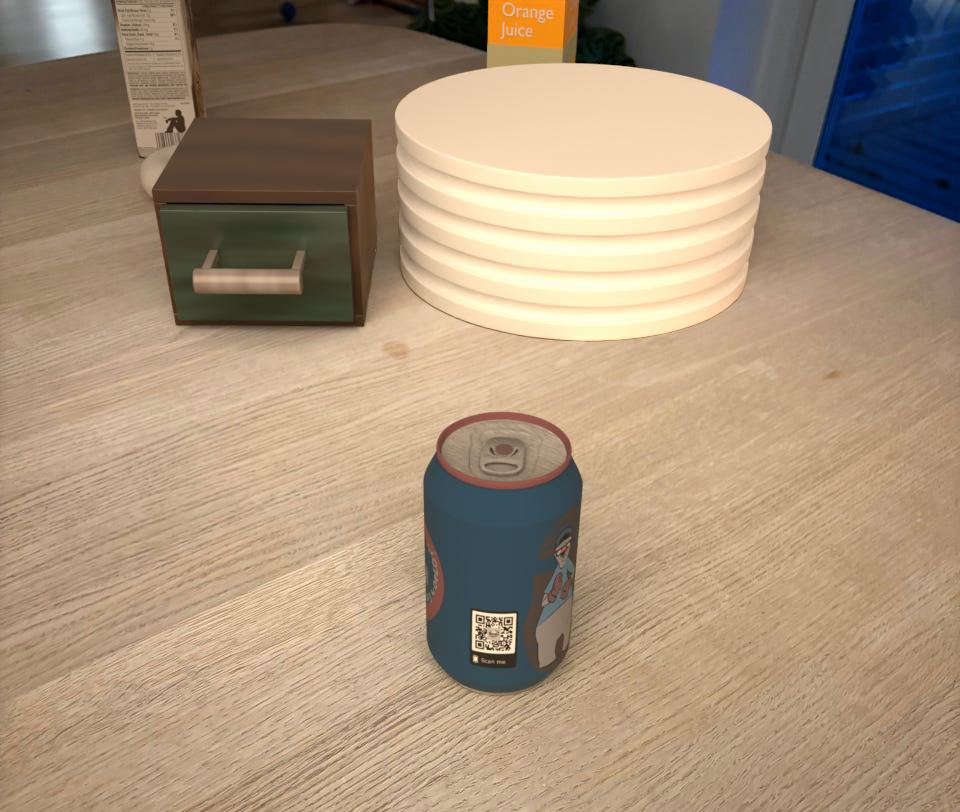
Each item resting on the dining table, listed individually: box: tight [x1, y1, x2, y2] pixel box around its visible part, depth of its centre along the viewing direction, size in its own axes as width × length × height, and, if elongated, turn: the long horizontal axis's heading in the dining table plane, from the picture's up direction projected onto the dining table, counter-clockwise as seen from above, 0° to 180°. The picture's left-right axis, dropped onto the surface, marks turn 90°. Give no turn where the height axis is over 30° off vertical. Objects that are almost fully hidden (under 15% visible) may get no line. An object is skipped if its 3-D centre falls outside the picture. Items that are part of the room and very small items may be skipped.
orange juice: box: [486, 0, 580, 68], centre depth 112 cm, size 8×9×20 cm
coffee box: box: [110, 0, 208, 148], centre depth 108 cm, size 9×6×16 cm
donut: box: [139, 144, 178, 199], centre depth 101 cm, size 10×4×10 cm
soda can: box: [422, 411, 584, 696], centre depth 51 cm, size 7×7×12 cm
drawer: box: [159, 203, 355, 322], centre depth 82 cm, size 20×13×8 cm, turn 0°
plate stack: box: [394, 62, 773, 342], centre depth 88 cm, size 28×28×12 cm
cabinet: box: [152, 117, 378, 327], centre depth 85 cm, size 16×14×10 cm
